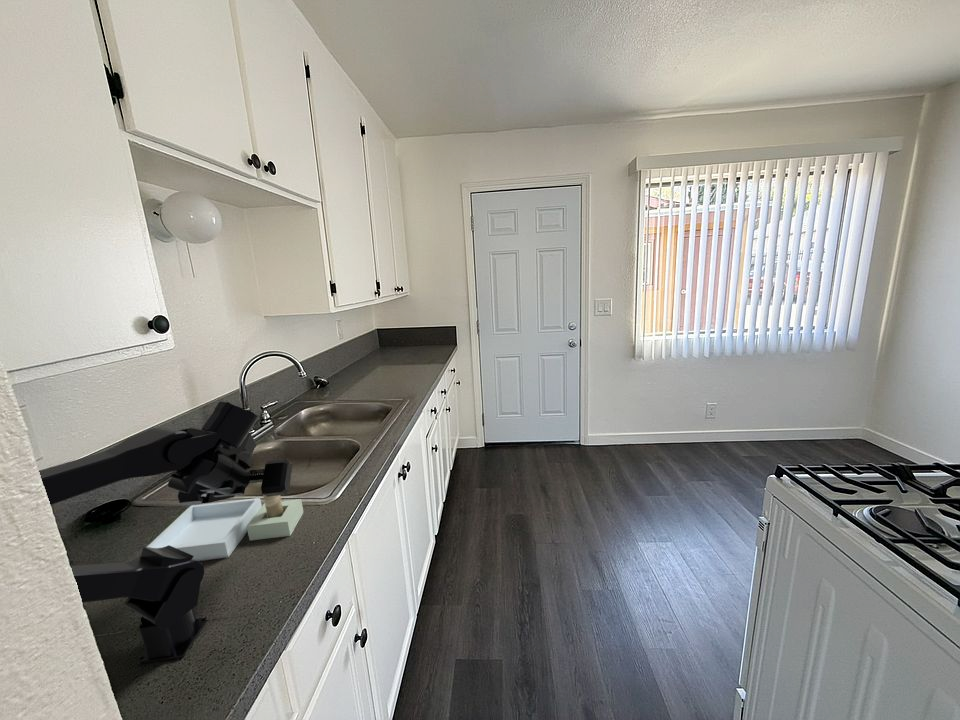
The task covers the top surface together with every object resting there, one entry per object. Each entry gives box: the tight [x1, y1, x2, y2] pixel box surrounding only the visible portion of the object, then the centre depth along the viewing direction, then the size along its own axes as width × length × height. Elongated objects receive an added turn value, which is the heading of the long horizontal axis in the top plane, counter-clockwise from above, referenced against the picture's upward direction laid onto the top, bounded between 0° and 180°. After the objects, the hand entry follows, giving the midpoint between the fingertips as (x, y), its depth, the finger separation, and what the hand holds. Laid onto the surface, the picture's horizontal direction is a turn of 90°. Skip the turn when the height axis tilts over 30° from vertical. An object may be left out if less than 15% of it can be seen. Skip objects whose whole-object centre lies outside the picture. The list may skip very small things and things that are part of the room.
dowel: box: [259, 482, 284, 518], centre depth 85 cm, size 3×3×12 cm
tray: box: [141, 497, 263, 562], centre depth 83 cm, size 16×16×4 cm
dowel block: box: [247, 498, 304, 541], centre depth 86 cm, size 8×8×4 cm
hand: (257, 492), depth 78 cm, fingers open, 9 cm apart
